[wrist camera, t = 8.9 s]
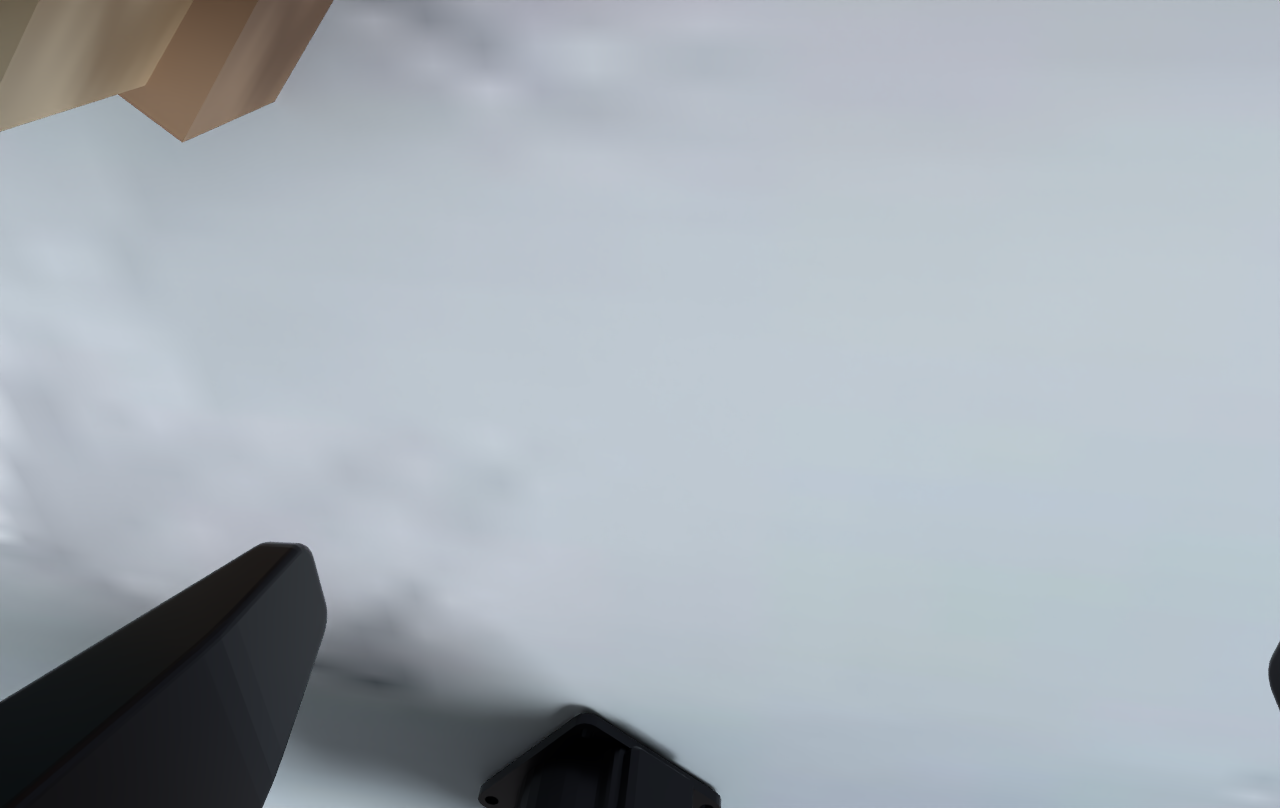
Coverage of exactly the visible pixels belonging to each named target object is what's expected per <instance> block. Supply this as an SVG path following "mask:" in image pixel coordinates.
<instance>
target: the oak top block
mask: <svg viewBox="0 0 1280 808" xmlns="http://www.w3.org/2000/svg"><path fill="white" fill-rule="evenodd" d="M192 2H193V0H0V132H1V131H4V130H7V129H10V128H13V127H16V126H19V125H23V124H26V123H29V122H32V121H35V120H38V119H41V118H45V117H48V116H51V115H54V114H57V113H60V112H64V111H67V110H70V109H73V108H76V107H79V106H82V105H86V104H89V103H92V102H95V101H98V100H101V99H104V98H108V97H111V96H114V95H117V94H120V93H123V92H126V91H130V90H133V89H136V88H139V87H142V86H145V85H146V83H147V82H148V80H149V78H150V76H151V75H152V73H153V71H154V69H155V67H156V66H157V64H158V62H159V60H160V59H161V57H162V55H163V53H164V52H165V50H166V48H167V46H168V44H169V43H170V41H171V39H172V37H173V36H174V34H175V32H176V30H177V28H178V27H179V25H180V23H181V21H182V20H183V18H184V16H185V14H186V13H187V11H188V9H189V7H190V5H191V4H192Z"/></svg>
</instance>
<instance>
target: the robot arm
mask: <svg viewBox="0 0 1280 808" xmlns="http://www.w3.org/2000/svg"><path fill="white" fill-rule="evenodd" d="M326 623H327V607H326V602H325V599H324V595H323V591H322V587H321V584H320V580H319V576H318V573H317V569H316V565H315V561H314V558H313V555H312V553H311V551H310V550H309V548H308V547H307V546H305V545H303V544H300V543H283V542H265V543H262V544H259V545H257V546H255V547H254V548H252V549H250V550H249V551H247V552H246V553H244V554H242V555H241V556H239V557H237V558H236V559H234V560H232V561H231V562H229V563H227V564H226V565H224V566H223V567H221V568H219V569H218V570H216V571H214V572H213V573H211V574H209V575H208V576H206V577H204V578H203V579H201V580H200V581H198V582H196V583H195V584H193V585H191V586H190V587H188V588H186V589H185V590H183V591H181V592H180V593H178V594H177V595H175V596H173V597H172V598H170V599H168V600H167V601H165V602H163V603H162V604H160V605H158V606H157V607H155V608H154V609H152V610H150V611H149V612H147V613H145V614H144V615H142V616H140V617H139V618H137V619H136V620H134V621H132V622H131V623H129V624H127V625H126V626H124V627H122V628H121V629H119V630H117V631H116V632H114V633H113V634H111V635H109V636H108V637H106V638H104V639H103V640H101V641H99V642H98V643H96V644H94V645H93V646H91V647H90V648H88V649H86V650H85V651H83V652H81V653H80V654H78V655H76V656H75V657H73V658H71V659H70V660H68V661H67V662H65V663H63V664H62V665H60V666H58V667H57V668H55V669H53V670H52V671H50V672H48V673H47V674H45V675H44V676H42V677H40V678H39V679H37V680H35V681H34V682H32V683H30V684H29V685H27V686H25V687H24V688H22V689H21V690H19V691H17V692H16V693H14V694H12V695H11V696H9V697H7V698H6V699H4V700H2V701H1V702H0V808H262V807H263V805H264V802H265V800H266V798H267V795H268V793H269V791H270V788H271V786H272V784H273V781H274V779H275V776H276V773H277V771H278V768H279V765H280V762H281V760H282V757H283V754H284V751H285V748H286V745H287V742H288V739H289V736H290V733H291V730H292V727H293V724H294V722H295V719H296V716H297V713H298V710H299V707H300V704H301V701H302V698H303V695H304V692H305V689H306V686H307V683H308V680H309V677H310V674H311V671H312V668H313V665H314V662H315V659H316V656H317V653H318V650H319V647H320V644H321V641H322V638H323V635H324V632H325V628H326ZM1268 671H1269V682H1270V687H1271V690H1272V693H1273V695H1274V698H1275V700H1276V703H1277V705H1278V707H1279V710H1280V642H1279V644H1278V645H1277V647H1276V649H1275V651H1274V653H1273V655H1272V657H1271V660H1270V663H1269V669H1268ZM478 800H479V802H480V803H481V804H482V805H483V806H485V807H486V808H721V798H720V795H719V794H718V793H716V792H715V791H713V790H712V789H710V788H709V787H707V786H705V785H704V784H702V783H701V782H699V781H698V780H696V779H695V778H693V777H691V776H690V775H688V774H687V773H685V772H684V771H682V770H680V769H679V768H677V767H676V766H674V765H673V764H671V763H670V762H668V761H666V760H665V759H663V758H662V757H660V756H659V755H657V754H656V753H654V752H652V751H651V750H649V749H648V748H646V747H645V746H643V745H642V744H640V743H638V742H637V741H635V740H634V739H632V738H631V737H629V736H627V735H626V734H624V733H623V732H621V731H620V730H618V729H617V728H615V727H613V726H612V725H610V724H609V723H607V722H606V721H604V720H603V719H601V718H599V717H598V716H596V715H593V714H589V713H584V714H580V715H578V716H576V717H575V718H573V719H572V720H571V721H569V722H568V723H566V724H565V725H564V726H562V727H561V728H560V729H558V730H557V731H555V732H554V733H553V734H551V735H550V736H549V737H547V738H546V739H544V740H543V741H542V742H540V743H539V744H538V745H536V746H535V747H534V748H532V749H531V750H529V751H528V752H527V753H525V754H524V755H523V756H521V757H520V758H518V759H517V760H516V761H514V762H513V763H512V764H510V765H509V766H507V767H506V768H505V769H503V770H502V771H501V772H499V773H498V774H496V775H495V776H494V777H492V778H491V779H490V780H488V781H487V782H486V783H484V784H483V785H482V786H481V789H480V793H479V797H478Z"/></svg>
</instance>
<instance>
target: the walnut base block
mask: <svg viewBox="0 0 1280 808" xmlns="http://www.w3.org/2000/svg"><path fill="white" fill-rule="evenodd" d="M332 2H333V0H193V2H192V4H191V5H190V7H189V9H188V11H187V13H186V14H185V16H184V18H183V20H182V21H181V23H180V25H179V27H178V28H177V30H176V32H175V34H174V36H173V37H172V39H171V41H170V43H169V44H168V46H167V48H166V50H165V52H164V53H163V55H162V57H161V59H160V60H159V62H158V64H157V66H156V67H155V69H154V71H153V73H152V75H151V76H150V78H149V80H148V82H147V83H146V85H145V86H142V87H139V88H136V89H133V90H130V91H126V92H123V93H120V94H118V95H119V96H121V97H122V98H123V99H125V100H126V101H127V102H129V103H130V104H131V105H133V106H134V107H135V108H137V109H138V110H139V111H141V112H142V113H144V114H145V115H146V116H148V117H149V118H150V119H152V120H153V121H154V122H156V123H157V124H158V125H160V126H161V127H162V128H164V129H165V130H166V131H168V132H169V133H170V134H172V135H173V136H174V137H176V138H177V139H178V140H180V141H181V142H185V141H187V140H189V139H191V138H194V137H196V136H198V135H200V134H203V133H205V132H207V131H209V130H212V129H214V128H216V127H218V126H221V125H223V124H225V123H227V122H230V121H232V120H234V119H236V118H239V117H241V116H243V115H245V114H248V113H250V112H252V111H254V110H257V109H259V108H261V107H263V106H266V105H268V104H270V103H272V102H275V100H276V98H277V96H278V95H279V93H280V91H281V90H282V88H283V86H284V84H285V83H286V81H287V79H288V77H289V76H290V74H291V72H292V71H293V69H294V67H295V65H296V64H297V62H298V60H299V59H300V57H301V55H302V53H303V52H304V50H305V48H306V47H307V45H308V43H309V41H310V40H311V38H312V36H313V35H314V33H315V31H316V29H317V28H318V26H319V24H320V23H321V21H322V19H323V17H324V16H325V14H326V12H327V10H328V9H329V7H330V5H331V4H332Z"/></svg>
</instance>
